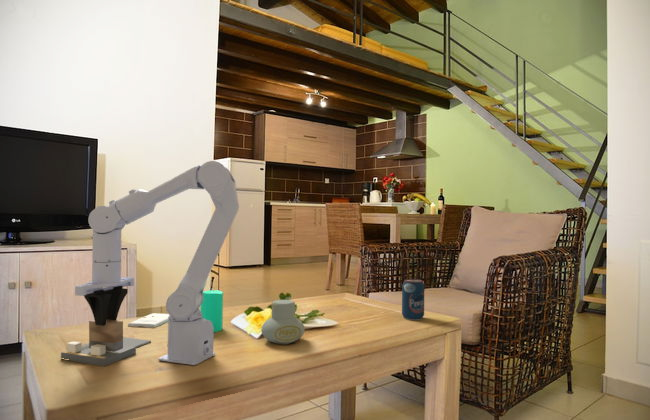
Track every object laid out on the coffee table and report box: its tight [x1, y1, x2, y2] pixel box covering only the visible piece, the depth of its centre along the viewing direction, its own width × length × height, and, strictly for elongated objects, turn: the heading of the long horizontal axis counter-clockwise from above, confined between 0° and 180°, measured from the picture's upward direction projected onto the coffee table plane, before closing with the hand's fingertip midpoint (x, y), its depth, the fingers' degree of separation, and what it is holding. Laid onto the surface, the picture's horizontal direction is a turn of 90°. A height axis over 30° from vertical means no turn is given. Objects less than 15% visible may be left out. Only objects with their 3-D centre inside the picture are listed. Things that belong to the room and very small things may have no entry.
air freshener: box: [260, 299, 306, 345], centre depth 112 cm, size 11×8×10 cm
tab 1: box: [66, 340, 83, 353], centre depth 96 cm, size 2×2×2 cm
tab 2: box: [91, 344, 106, 356], centre depth 95 cm, size 2×2×2 cm
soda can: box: [401, 278, 425, 321], centre depth 139 cm, size 7×7×12 cm
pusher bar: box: [88, 319, 124, 352], centre depth 96 cm, size 7×2×6 cm, turn 72°
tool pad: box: [123, 336, 152, 349], centre depth 108 cm, size 12×6×1 cm, turn 72°
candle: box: [200, 289, 224, 333], centre depth 122 cm, size 6×6×12 cm
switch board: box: [60, 343, 137, 367], centre depth 98 cm, size 12×9×2 cm
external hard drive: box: [127, 312, 169, 329], centre depth 130 cm, size 2×8×12 cm
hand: (106, 323), depth 96 cm, fingers closed on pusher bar, 2 cm apart
